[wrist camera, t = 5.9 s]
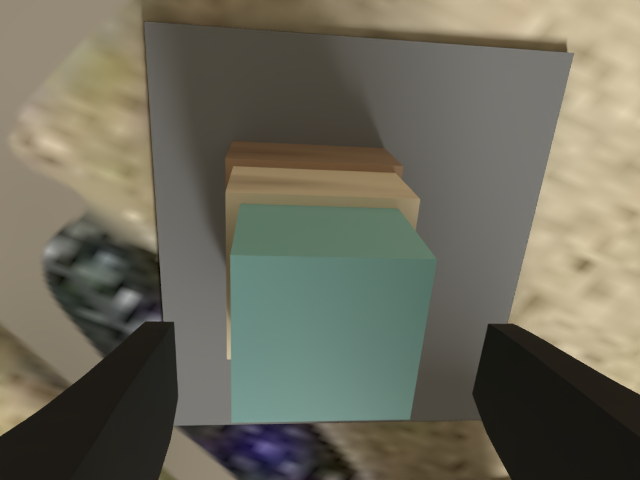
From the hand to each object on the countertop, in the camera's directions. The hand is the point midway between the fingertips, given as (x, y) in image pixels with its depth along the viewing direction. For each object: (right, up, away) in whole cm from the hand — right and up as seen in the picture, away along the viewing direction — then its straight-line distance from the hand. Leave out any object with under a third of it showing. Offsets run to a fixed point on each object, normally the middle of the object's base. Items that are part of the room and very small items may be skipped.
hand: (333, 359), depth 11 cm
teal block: (0, +2, +3) cm, 4 cm away
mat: (+1, +2, +10) cm, 11 cm away
